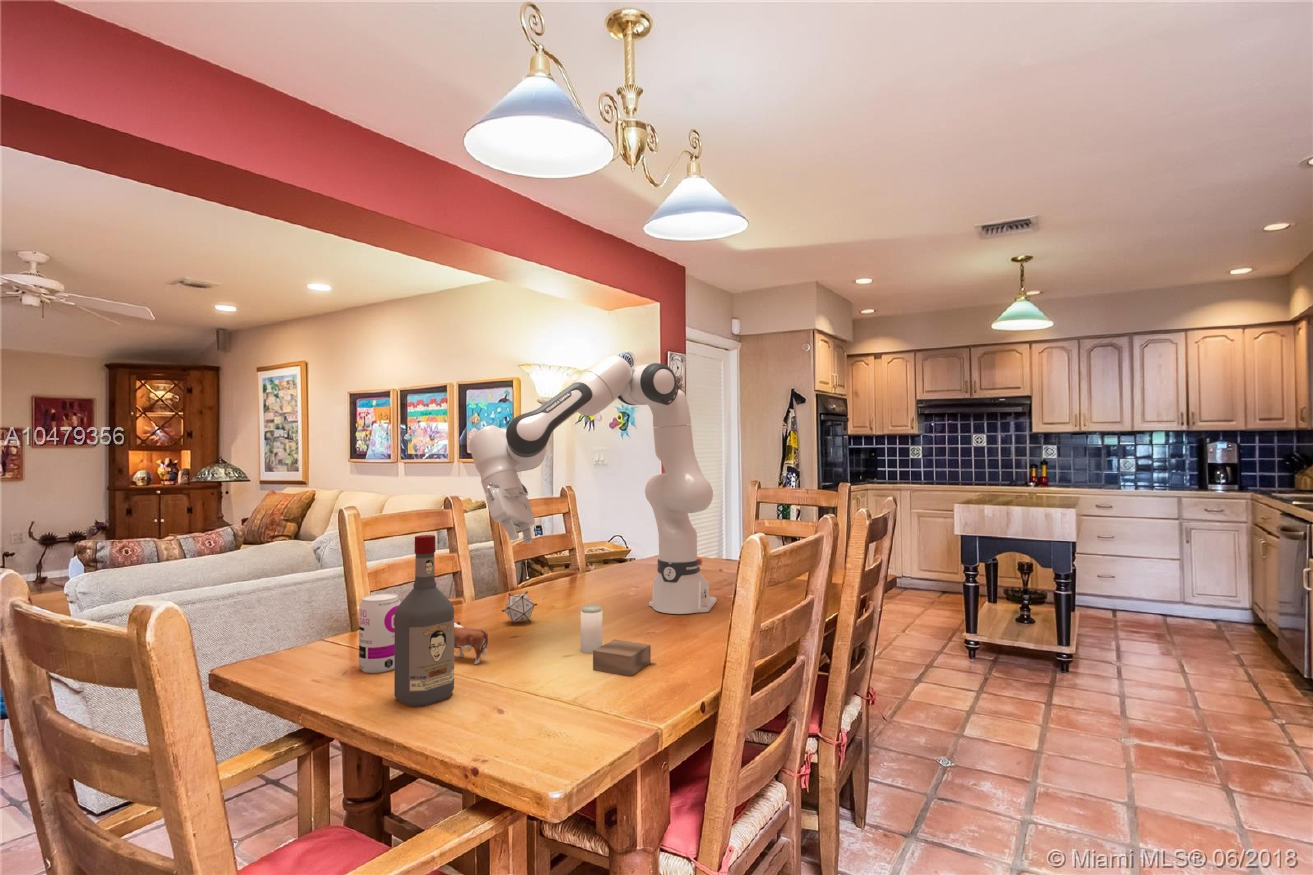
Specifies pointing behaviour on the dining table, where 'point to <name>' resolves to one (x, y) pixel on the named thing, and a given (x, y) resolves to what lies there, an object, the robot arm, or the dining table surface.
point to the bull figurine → (470, 640)
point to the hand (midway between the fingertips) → (522, 541)
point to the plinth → (622, 657)
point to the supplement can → (377, 632)
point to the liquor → (424, 635)
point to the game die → (519, 607)
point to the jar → (591, 628)
